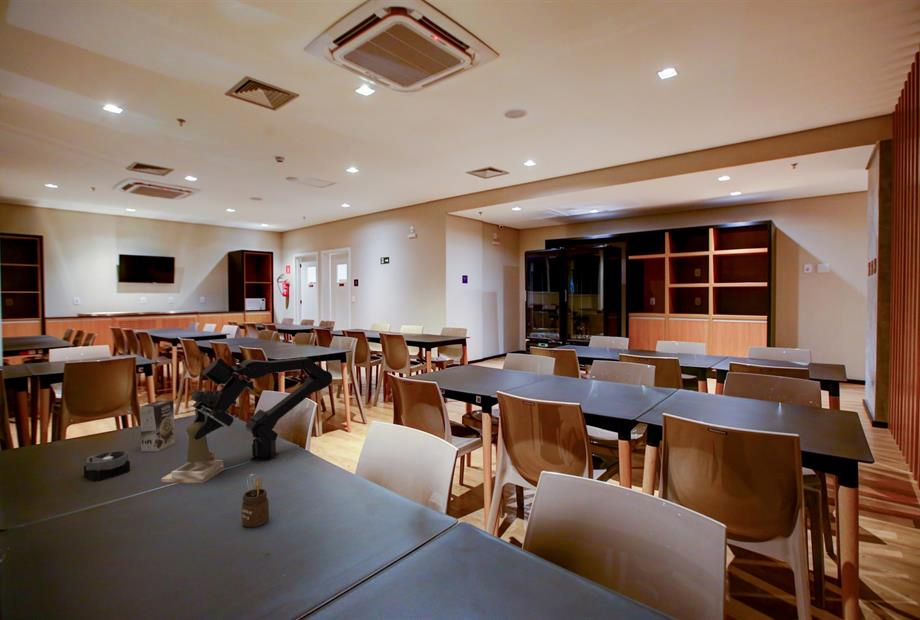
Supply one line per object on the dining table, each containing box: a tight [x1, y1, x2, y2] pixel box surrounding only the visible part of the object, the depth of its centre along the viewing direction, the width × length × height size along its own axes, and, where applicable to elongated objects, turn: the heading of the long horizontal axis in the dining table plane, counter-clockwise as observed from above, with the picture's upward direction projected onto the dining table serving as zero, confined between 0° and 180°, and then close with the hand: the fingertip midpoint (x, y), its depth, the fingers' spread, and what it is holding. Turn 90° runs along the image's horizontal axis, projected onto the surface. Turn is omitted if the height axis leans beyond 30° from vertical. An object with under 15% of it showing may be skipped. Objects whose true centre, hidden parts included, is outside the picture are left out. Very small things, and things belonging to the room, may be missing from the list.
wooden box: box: [160, 451, 225, 484], centre depth 133 cm, size 13×10×6 cm
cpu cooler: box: [83, 450, 131, 482], centre depth 135 cm, size 10×6×10 cm
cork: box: [186, 422, 210, 463], centre depth 132 cm, size 6×6×11 cm
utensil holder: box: [241, 473, 270, 528], centre depth 105 cm, size 6×6×12 cm
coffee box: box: [139, 399, 176, 452], centre depth 158 cm, size 9×6×16 cm
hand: (192, 437), depth 131 cm, fingers closed on cork, 5 cm apart
